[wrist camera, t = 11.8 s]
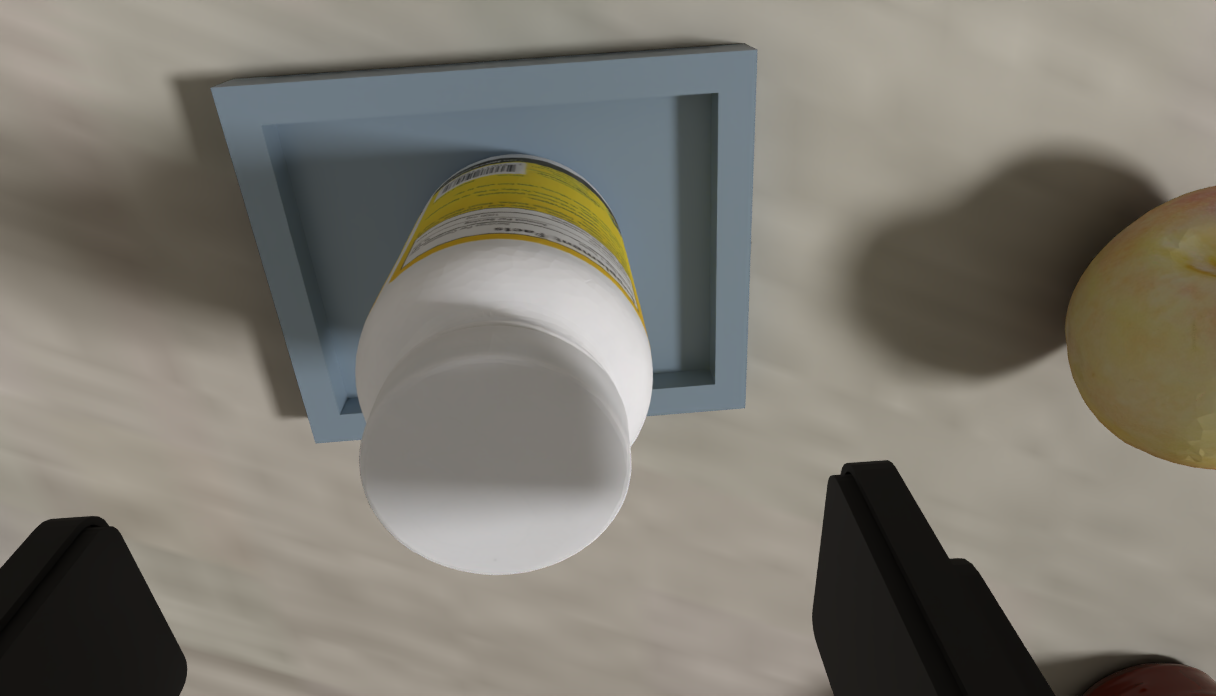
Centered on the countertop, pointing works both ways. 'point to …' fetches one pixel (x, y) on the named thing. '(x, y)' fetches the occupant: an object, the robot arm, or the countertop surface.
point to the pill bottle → (504, 372)
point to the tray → (492, 126)
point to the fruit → (1152, 332)
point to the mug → (1155, 682)
